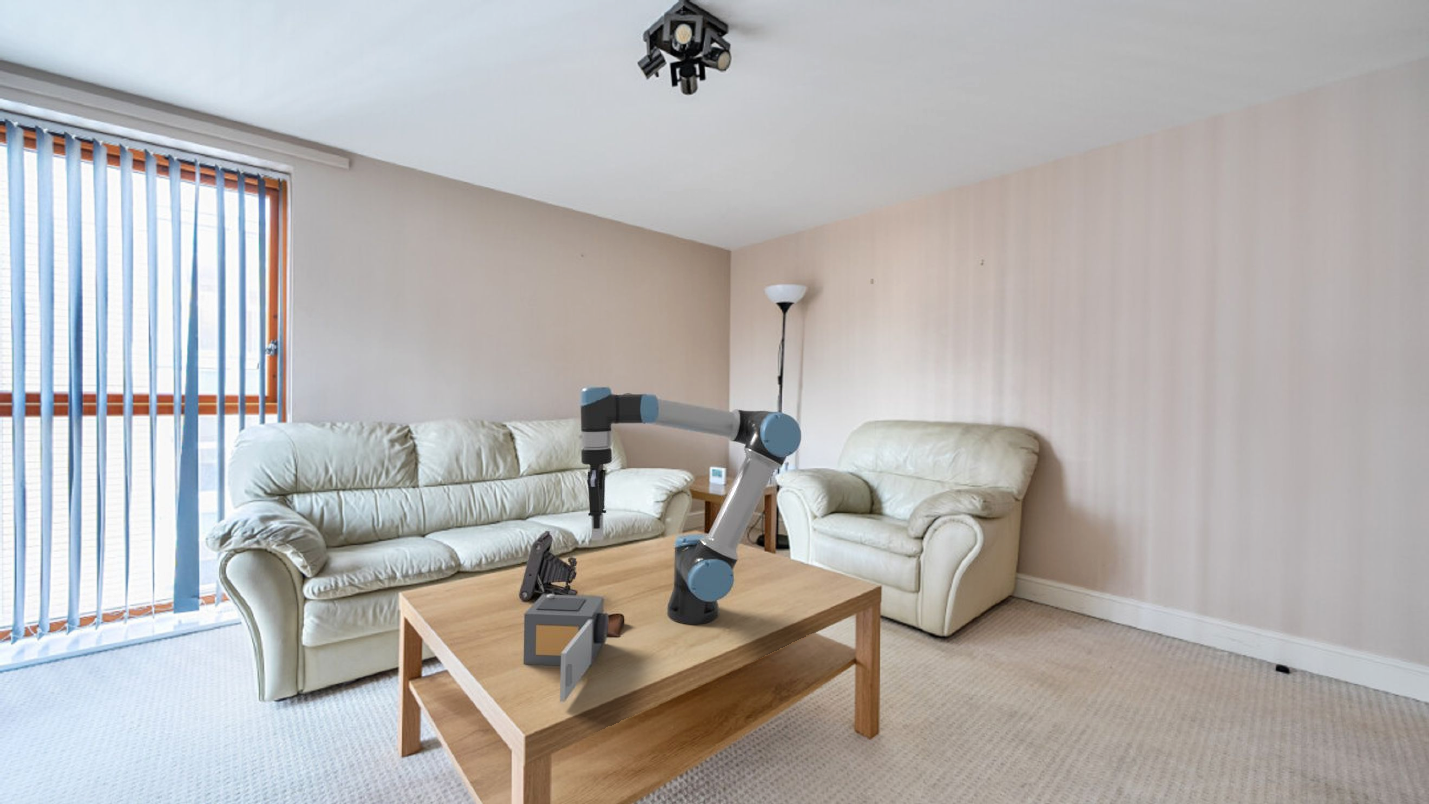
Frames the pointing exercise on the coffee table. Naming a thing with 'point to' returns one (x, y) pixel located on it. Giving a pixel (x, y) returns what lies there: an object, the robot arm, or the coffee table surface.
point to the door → (576, 659)
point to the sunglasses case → (615, 624)
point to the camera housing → (561, 626)
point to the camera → (546, 571)
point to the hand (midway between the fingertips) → (597, 539)
